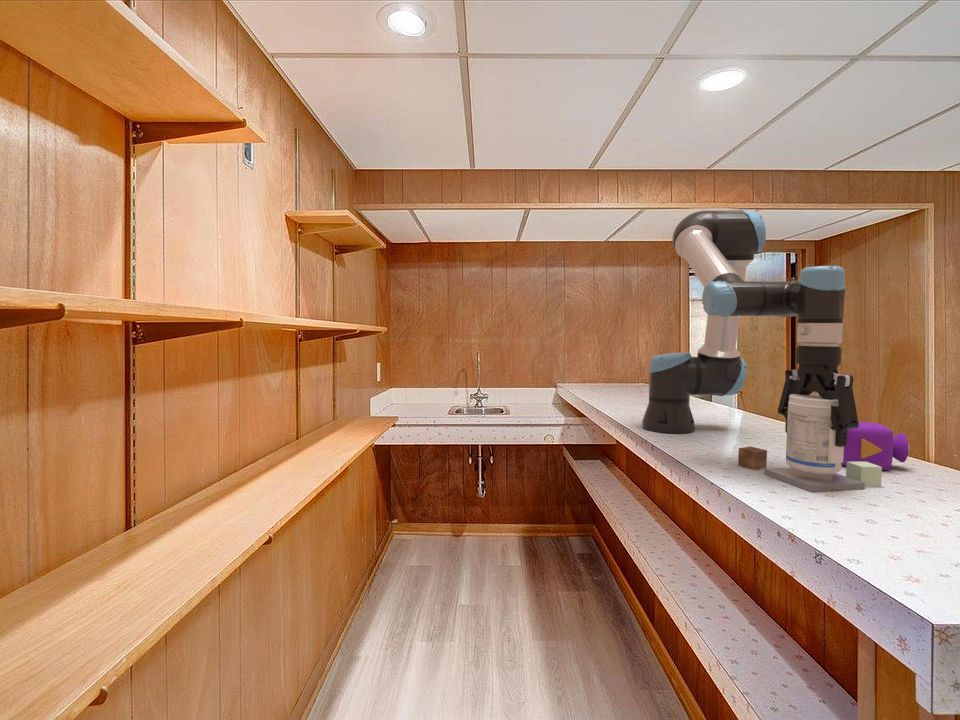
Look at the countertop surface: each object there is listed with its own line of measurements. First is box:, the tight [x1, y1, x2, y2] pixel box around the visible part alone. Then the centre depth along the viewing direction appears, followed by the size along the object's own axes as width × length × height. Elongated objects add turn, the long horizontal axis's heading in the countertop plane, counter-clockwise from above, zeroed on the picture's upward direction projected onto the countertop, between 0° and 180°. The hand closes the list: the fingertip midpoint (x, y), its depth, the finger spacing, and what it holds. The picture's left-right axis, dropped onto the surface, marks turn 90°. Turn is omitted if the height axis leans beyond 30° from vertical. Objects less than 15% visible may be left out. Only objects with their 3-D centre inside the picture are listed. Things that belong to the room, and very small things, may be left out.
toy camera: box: [842, 421, 910, 471], centre depth 114 cm, size 11×14×10 cm
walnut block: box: [737, 445, 768, 471], centre depth 113 cm, size 4×4×4 cm
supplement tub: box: [785, 393, 843, 474], centre depth 102 cm, size 10×10×15 cm
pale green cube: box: [845, 462, 883, 488], centre depth 101 cm, size 4×4×4 cm
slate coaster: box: [763, 466, 866, 493], centre depth 102 cm, size 12×12×1 cm
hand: (813, 455), depth 102 cm, fingers closed on supplement tub, 9 cm apart
